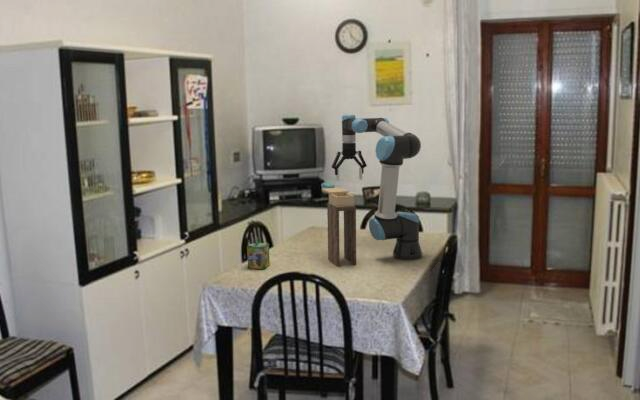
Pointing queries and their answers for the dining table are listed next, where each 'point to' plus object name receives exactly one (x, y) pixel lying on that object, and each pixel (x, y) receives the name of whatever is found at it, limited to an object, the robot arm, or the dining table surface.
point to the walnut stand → (348, 233)
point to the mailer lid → (332, 189)
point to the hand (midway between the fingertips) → (349, 180)
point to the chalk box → (258, 255)
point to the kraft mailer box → (341, 199)
